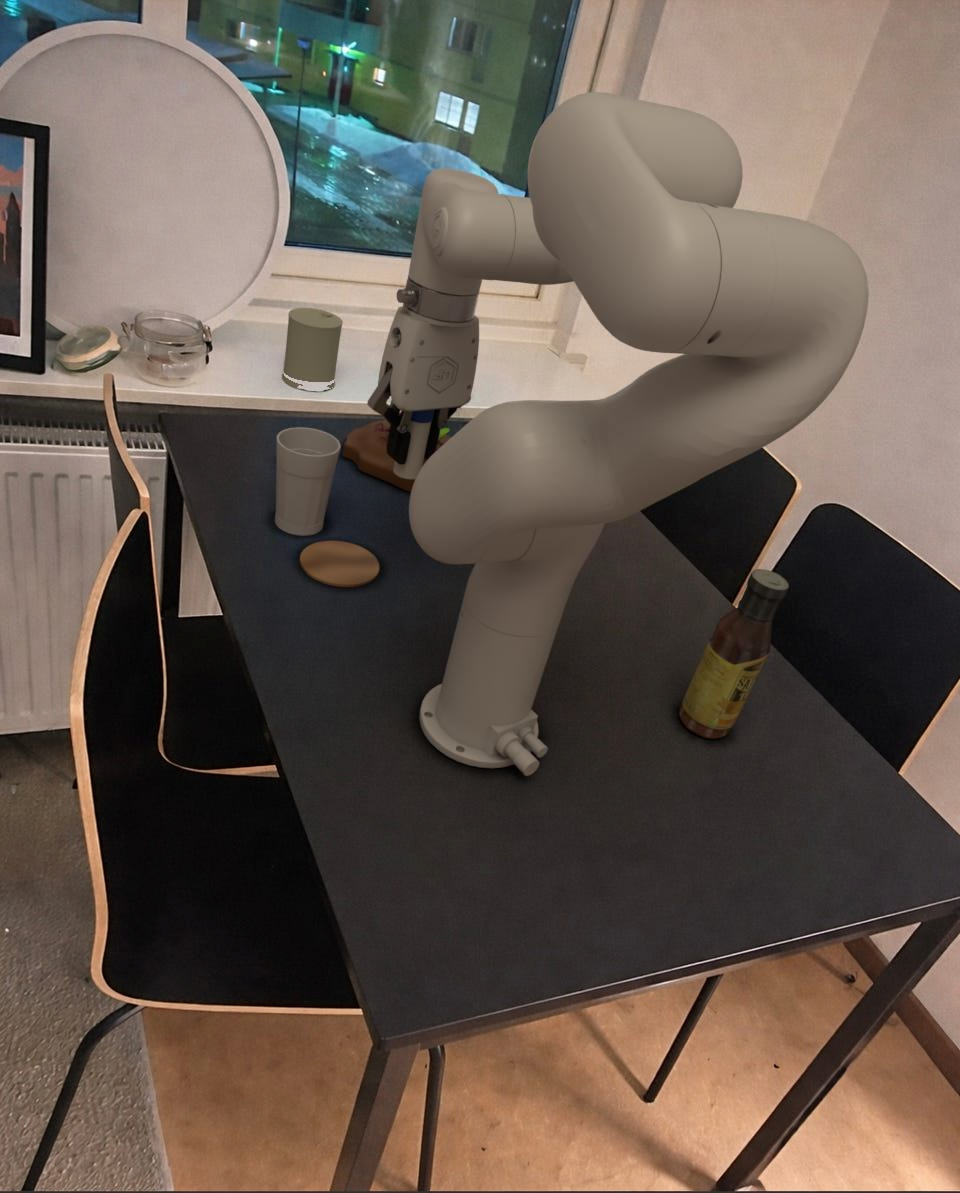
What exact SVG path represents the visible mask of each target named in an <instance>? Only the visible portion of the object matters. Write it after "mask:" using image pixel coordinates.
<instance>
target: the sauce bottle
mask: <svg viewBox="0 0 960 1193" xmlns="http://www.w3.org/2000/svg"><path fill="white" fill-rule="evenodd" d="M789 586H790V585H789V583H788V581H787V580H786V578H784V577H782V575H780V574H779V573H776V572H774V571H772V570H769V569H764V568H756V569H753V570H752V571H751V573H750V575H749V577H748V579H747V583H746V588H745V590H744V592H743V594H742V596H741V598H740V600H739V601H738V603H737V607H735V608H734V609H732V610H730V611H729V612H727V613H726V614H725V615H724V616H722V617H721V618H720V619H719V621H718V622H717V624H716V626H715V629H714V631H713V634H712V636H711V638H709V640H708V641H707V644H706V647H705V649H704V651H703V653H702V655H701V658H700V660H699V662H698V664H697V666H696V669H695V671H694V674H693V676H692V678H691V680H690V683H689V684H688V687H687V689H686V691H685V694H684V695H683V698H682V703H681V705H680V707H679V711H678V713H679V718H680V721H681V723H682V724H683V726H685V728H686V729H687V730H689V731H691V732H692V733H694V734H696V736H699V737H702V738H705V739H711V740H712V739H714V740H715V739H716V740H717V739H721V738H723V737H726V736H727V734H728V733H729V732H730V731H731V729H732V727H733V726H734V725H735V723H736V722H737V719H738V717H739V716H740V713H741V711H742V709H743V707H744V705H745V703H746V701H747V699H748V697H749V695H750V693H751V691H752V689H753V687H754V685H755V683H756V681H757V678H758V677H759V674H760V672H761V671H762V669H763V667H764V664H765V663H766V660H767V658H768V656H769V654H770V652H771V643H772V627H773V619H774V618H775V615H776V613H777V609H778V607H779V605H780V603H781V601H782V600H783V599H785V597H786V595H787V592H788V590H789V588H790V587H789Z"/></svg>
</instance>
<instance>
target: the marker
mask: <svg viewBox="0 0 960 1193" xmlns="http://www.w3.org/2000/svg"><path fill="white" fill-rule="evenodd" d="M434 411H435V410H424V411H413V414H412V418H411V421H410V424H409V428H408V430H407V431H409V432H410V433H411V439H410V445H409V450H408V455H407V460H406V463H405V464H403V465H399V464H398V463H397V462H396V461H395V463H394V469H393V471H394V473H395V474H396V475H397V476H399V477H401V478H404V479H416V477H417V475H418V473H419V471H420V470H421V468H422V465H423V460H424V455H425V450H426V445H427V440H428V436H429V431H430V426H431V421H432V420H433V416H434Z"/></svg>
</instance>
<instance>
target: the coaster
mask: <svg viewBox="0 0 960 1193" xmlns="http://www.w3.org/2000/svg"><path fill="white" fill-rule="evenodd" d="M299 564H300V565H299V566H300V567H301V569H302V570H303V572H304V573H305V574H307V576H309V577H310V578H312V579H314V580H315V581H317V582H319V583H321V584H325V585H328V586H331V587H332V586H333V587H338V588H357V587H360V586H365V585H367V584H369V583H371V582H373V581H374V580H376V578H377V577H378V575H379V572H380V563H379V561H378V559H377V557H376V556H375V554H373V553H372V552H370V550H368V549H366V548H364V547H362V546H360V545H358V544H355V543H352V542H347V541H341V540H323V541H318V542H314V543H311V544H310V545H308V546H306V547H305V548H303V549H302V551H301V553H300V555H299Z"/></svg>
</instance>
